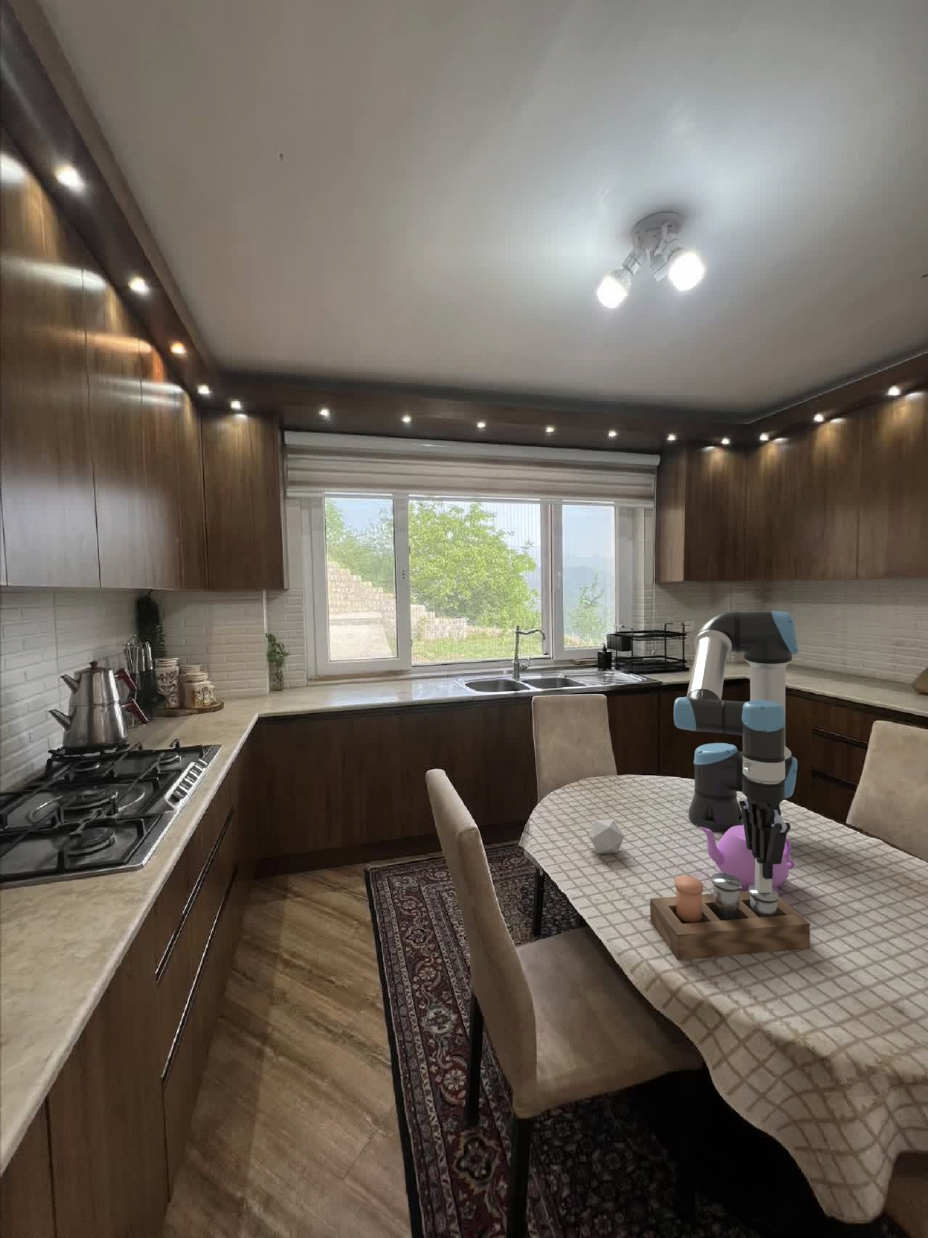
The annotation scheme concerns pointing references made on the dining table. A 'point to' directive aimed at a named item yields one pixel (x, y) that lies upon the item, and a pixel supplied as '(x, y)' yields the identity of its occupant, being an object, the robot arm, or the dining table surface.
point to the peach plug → (689, 898)
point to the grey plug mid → (726, 895)
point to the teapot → (743, 857)
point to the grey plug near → (763, 902)
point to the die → (606, 836)
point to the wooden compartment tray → (728, 930)
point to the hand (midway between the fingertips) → (763, 890)
